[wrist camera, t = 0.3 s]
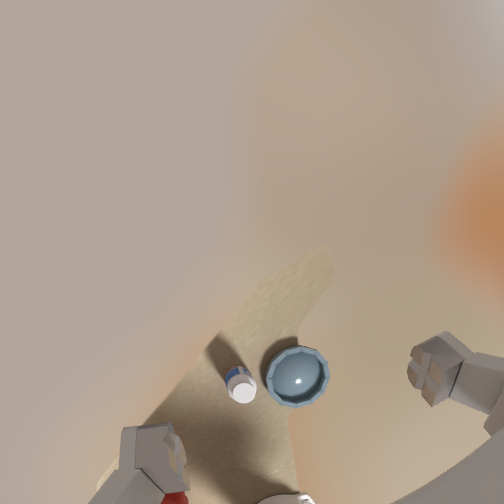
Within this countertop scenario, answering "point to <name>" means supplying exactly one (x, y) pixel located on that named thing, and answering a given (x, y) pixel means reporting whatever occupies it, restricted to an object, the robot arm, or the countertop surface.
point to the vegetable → (175, 498)
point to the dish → (297, 376)
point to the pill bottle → (240, 384)
